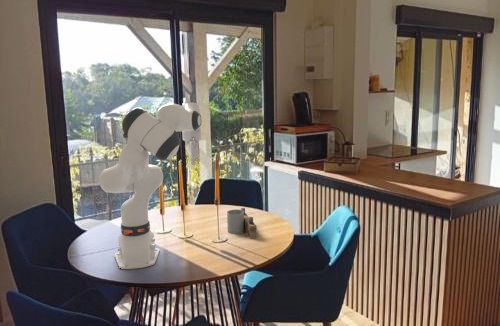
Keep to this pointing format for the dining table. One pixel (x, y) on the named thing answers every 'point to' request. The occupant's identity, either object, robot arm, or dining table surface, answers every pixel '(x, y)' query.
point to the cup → (235, 221)
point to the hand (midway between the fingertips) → (193, 164)
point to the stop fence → (249, 225)
